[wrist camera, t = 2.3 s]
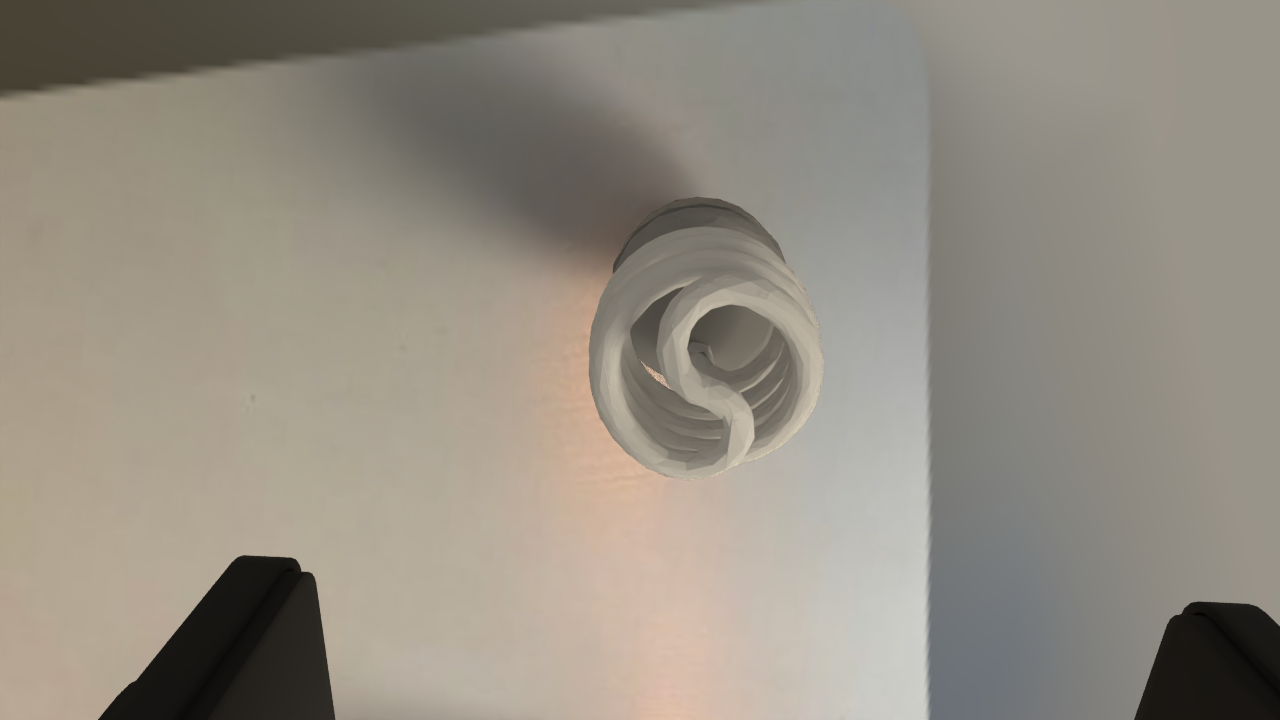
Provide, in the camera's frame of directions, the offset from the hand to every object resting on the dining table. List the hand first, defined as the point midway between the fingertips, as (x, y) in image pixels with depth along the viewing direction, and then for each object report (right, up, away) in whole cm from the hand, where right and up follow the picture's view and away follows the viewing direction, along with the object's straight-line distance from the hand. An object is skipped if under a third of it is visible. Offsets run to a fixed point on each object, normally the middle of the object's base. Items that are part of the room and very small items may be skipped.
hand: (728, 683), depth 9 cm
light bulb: (+1, +7, +20) cm, 21 cm away
